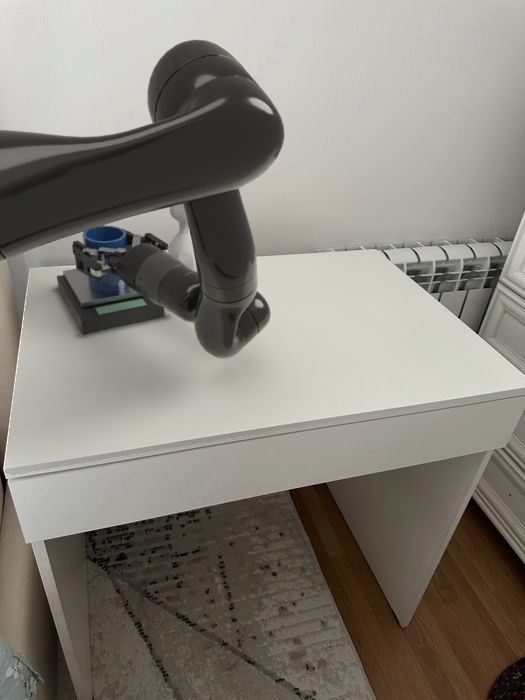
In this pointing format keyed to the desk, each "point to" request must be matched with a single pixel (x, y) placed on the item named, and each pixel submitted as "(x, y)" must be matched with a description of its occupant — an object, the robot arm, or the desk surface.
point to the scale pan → (91, 296)
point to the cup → (107, 239)
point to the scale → (108, 311)
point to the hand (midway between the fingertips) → (98, 240)
